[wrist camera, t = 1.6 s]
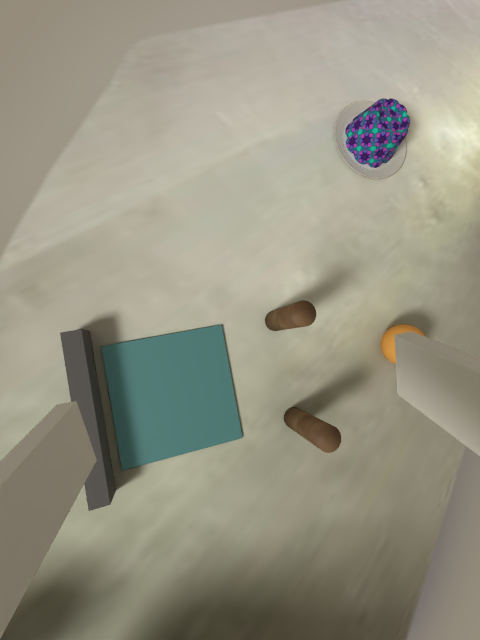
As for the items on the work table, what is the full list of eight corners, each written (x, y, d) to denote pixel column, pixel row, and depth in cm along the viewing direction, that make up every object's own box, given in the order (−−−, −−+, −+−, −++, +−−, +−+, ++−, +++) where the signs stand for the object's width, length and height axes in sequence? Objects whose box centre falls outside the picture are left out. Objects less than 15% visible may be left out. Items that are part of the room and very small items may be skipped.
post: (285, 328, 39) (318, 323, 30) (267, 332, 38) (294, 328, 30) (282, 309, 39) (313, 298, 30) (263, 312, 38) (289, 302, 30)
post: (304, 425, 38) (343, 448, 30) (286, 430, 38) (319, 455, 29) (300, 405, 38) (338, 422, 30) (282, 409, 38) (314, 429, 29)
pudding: (341, 184, 43) (363, 162, 38) (324, 105, 44) (344, 73, 38) (409, 178, 46) (439, 157, 41) (393, 104, 46) (420, 74, 41)
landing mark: (242, 437, 36) (242, 437, 36) (122, 469, 33) (121, 470, 33) (221, 324, 37) (221, 324, 37) (101, 346, 34) (101, 346, 34)
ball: (409, 360, 43) (443, 362, 37) (376, 368, 41) (406, 371, 36) (401, 322, 43) (433, 319, 37) (368, 329, 42) (397, 327, 36)
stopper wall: (115, 490, 33) (110, 504, 30) (96, 496, 33) (88, 510, 30) (89, 330, 34) (81, 329, 31) (70, 333, 33) (60, 332, 30)
